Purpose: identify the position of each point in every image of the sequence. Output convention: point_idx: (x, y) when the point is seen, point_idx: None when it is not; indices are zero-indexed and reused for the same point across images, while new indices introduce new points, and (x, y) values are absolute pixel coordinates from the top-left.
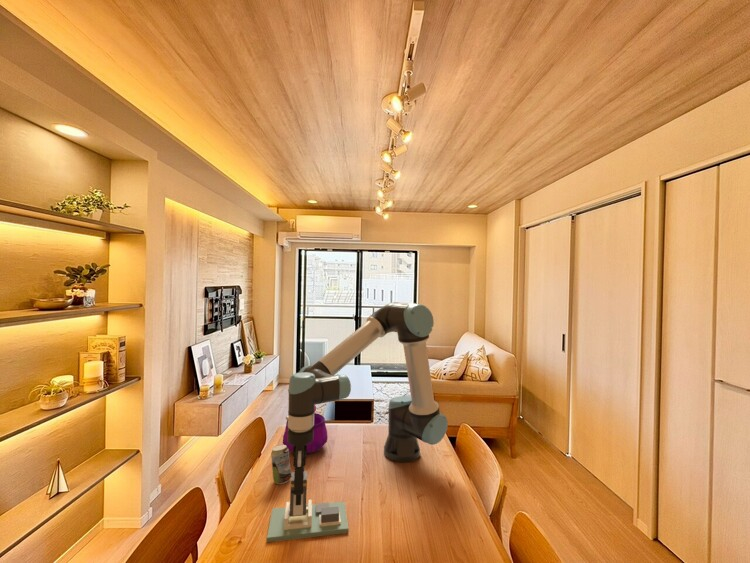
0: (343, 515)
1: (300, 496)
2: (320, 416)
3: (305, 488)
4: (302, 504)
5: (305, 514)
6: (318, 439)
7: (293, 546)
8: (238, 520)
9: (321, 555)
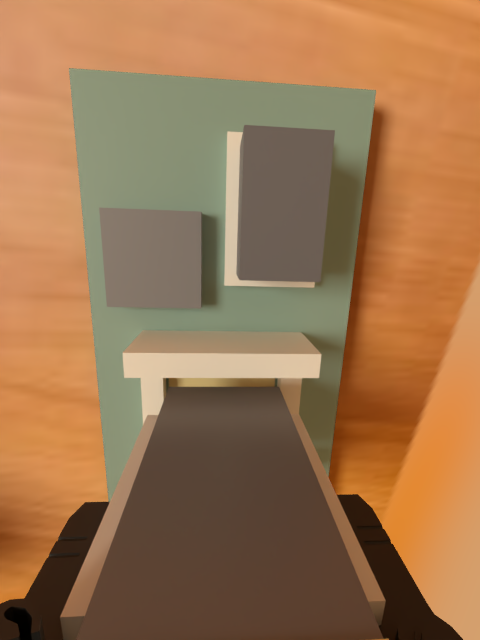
0: (241, 107)
1: (417, 591)
2: None
3: (357, 601)
4: (321, 469)
5: (279, 391)
6: None
7: (370, 404)
8: None
9: (467, 280)
